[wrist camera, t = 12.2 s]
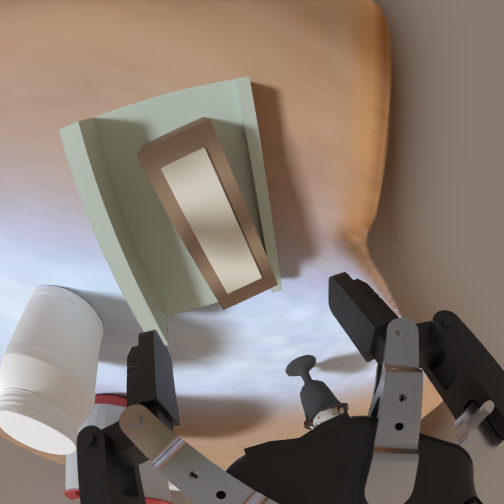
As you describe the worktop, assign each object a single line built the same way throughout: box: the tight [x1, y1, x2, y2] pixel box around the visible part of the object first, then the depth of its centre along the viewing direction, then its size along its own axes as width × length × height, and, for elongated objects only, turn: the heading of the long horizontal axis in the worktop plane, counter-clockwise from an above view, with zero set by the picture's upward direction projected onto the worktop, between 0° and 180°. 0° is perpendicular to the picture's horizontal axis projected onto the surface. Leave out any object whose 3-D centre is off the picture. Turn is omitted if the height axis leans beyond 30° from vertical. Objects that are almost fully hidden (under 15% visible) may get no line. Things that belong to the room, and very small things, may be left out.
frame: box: [137, 117, 278, 310], centre depth 22 cm, size 14×5×5 cm, turn 20°
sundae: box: [286, 356, 348, 430], centre depth 35 cm, size 7×7×15 cm
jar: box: [0, 285, 104, 455], centre depth 21 cm, size 12×10×15 cm
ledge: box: [59, 76, 282, 346], centre depth 23 cm, size 20×14×6 cm
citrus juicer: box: [64, 395, 173, 504], centre depth 29 cm, size 16×17×20 cm
